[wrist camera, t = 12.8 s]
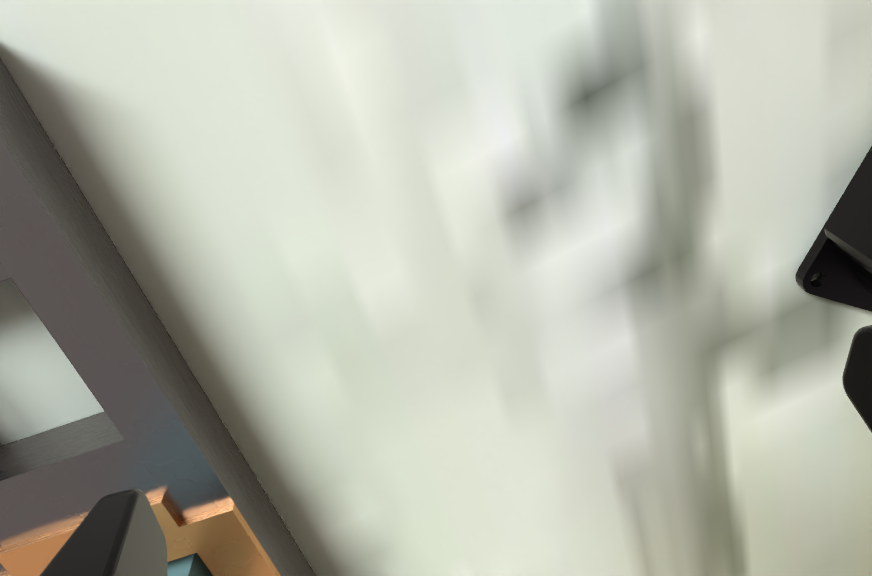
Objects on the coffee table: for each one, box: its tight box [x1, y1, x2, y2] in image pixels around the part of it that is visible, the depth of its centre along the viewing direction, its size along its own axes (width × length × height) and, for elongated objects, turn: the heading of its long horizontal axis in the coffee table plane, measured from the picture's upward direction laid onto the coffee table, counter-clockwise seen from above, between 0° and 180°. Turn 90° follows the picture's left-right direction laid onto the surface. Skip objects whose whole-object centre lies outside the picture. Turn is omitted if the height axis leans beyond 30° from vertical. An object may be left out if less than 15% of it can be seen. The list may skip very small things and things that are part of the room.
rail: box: [0, 59, 315, 576], centre depth 22 cm, size 26×9×2 cm, turn 19°
